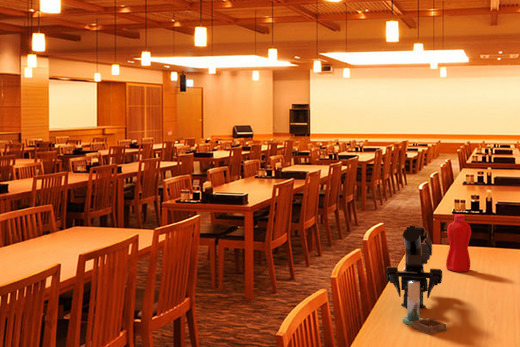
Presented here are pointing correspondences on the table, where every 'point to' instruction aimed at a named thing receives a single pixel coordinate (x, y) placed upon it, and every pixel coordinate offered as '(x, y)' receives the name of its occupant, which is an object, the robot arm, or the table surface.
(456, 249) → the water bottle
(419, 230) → the robot arm
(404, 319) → the shiny teal dome
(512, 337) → the table surface
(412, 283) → the peg
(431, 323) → the open brown square box
